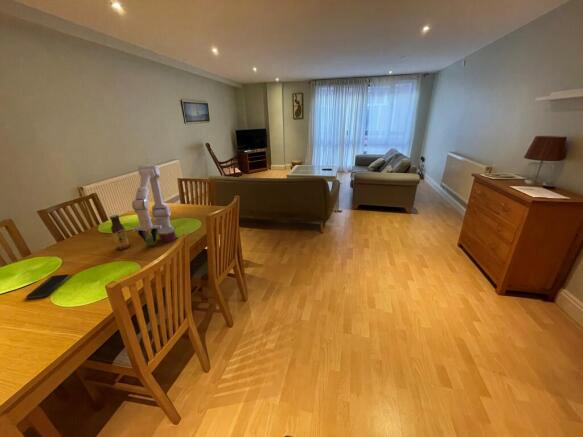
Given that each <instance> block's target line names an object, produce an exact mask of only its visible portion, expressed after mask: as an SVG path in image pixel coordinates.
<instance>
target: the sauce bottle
mask: <svg viewBox="0 0 583 437" xmlns="http://www.w3.org/2000/svg"><path fill="white" fill-rule="evenodd" d="M109 219H110V221H111V227H110V230H111V235H112V238H113V240H114V244H115V247H116V249H117V250H125V249H128V248H129V247H130V242H129V239H128V235H127V231H126V228H125V227H124V225H123V224H122V223H121V220H120V215H119V214H113V215H110V216H109Z"/></svg>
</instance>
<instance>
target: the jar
mask: <svg viewBox="0 0 583 437" xmlns="http://www.w3.org/2000/svg"><path fill="white" fill-rule="evenodd" d="M173 227H174V226H172V227H166V228H162V229H160V230H158V231H157V235H158V238H159V241H160V242H161V243H170V242H172V241H175V240H176V239H177V235H176V229H175V227H174V228H173Z"/></svg>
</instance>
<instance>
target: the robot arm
mask: <svg viewBox="0 0 583 437" xmlns="http://www.w3.org/2000/svg"><path fill="white" fill-rule="evenodd" d="M137 168H138V169H137V172H138V174H139V176H140V180H139V182H140V183H139V187H137V189H136V194H135V199H134V200H132V202H131V205H132V210H133V211H134V212H135V214H136V215H137V220H138V222H139V225H140V226H135V227H132V233H136V232H137V233H138V236H140V237H141V238H142V240H143V241H144V243H146V241H145V238H146V237H147V236H148V235H147V231H150V235H151V236H153V240H154V241H156V242H157V234H158V230H160V229H162V228H166V227H173V228H175V226H172V224H171V221H170V216H171V208H170V205H169V204H168V203H166V202H164V198H163V194H162V190H161V184H160V178H161V170H160V168H159V166H158V165H157V164H145V165H143V164H142V165H141V164H140V165H139V166H138V167H137ZM149 184H150V188H151V192H152V197H153V201H154V204H153V205H152V206H151V214H150V210H149V208H150V202H149V201H150V200H149V195H150V194H149V193H150V190H149ZM150 215H152V217H153V218H154V219H153V223H152V219H151V216H150Z"/></svg>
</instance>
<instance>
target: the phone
mask: <svg viewBox="0 0 583 437" xmlns="http://www.w3.org/2000/svg"><path fill="white" fill-rule="evenodd" d="M68 279H70V274H58V275H56V274H55V275H52V276H49V278H48V279H46V280H44V281H43V282H42V283H41V284H40V285H38V286H37V287H36V288H34V289H33V290H31V292H29V293H28V294H27V295H26V296H25V298H26V299H27V300H34V299H35V300H36V299H44V298H46V297H49V296H50V295H51V294H53V292H54V291H55V290H57V289H58V288H59V287H60V286H61V285H62V284H64V283H65V282H66V281H67V280H68Z"/></svg>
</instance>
